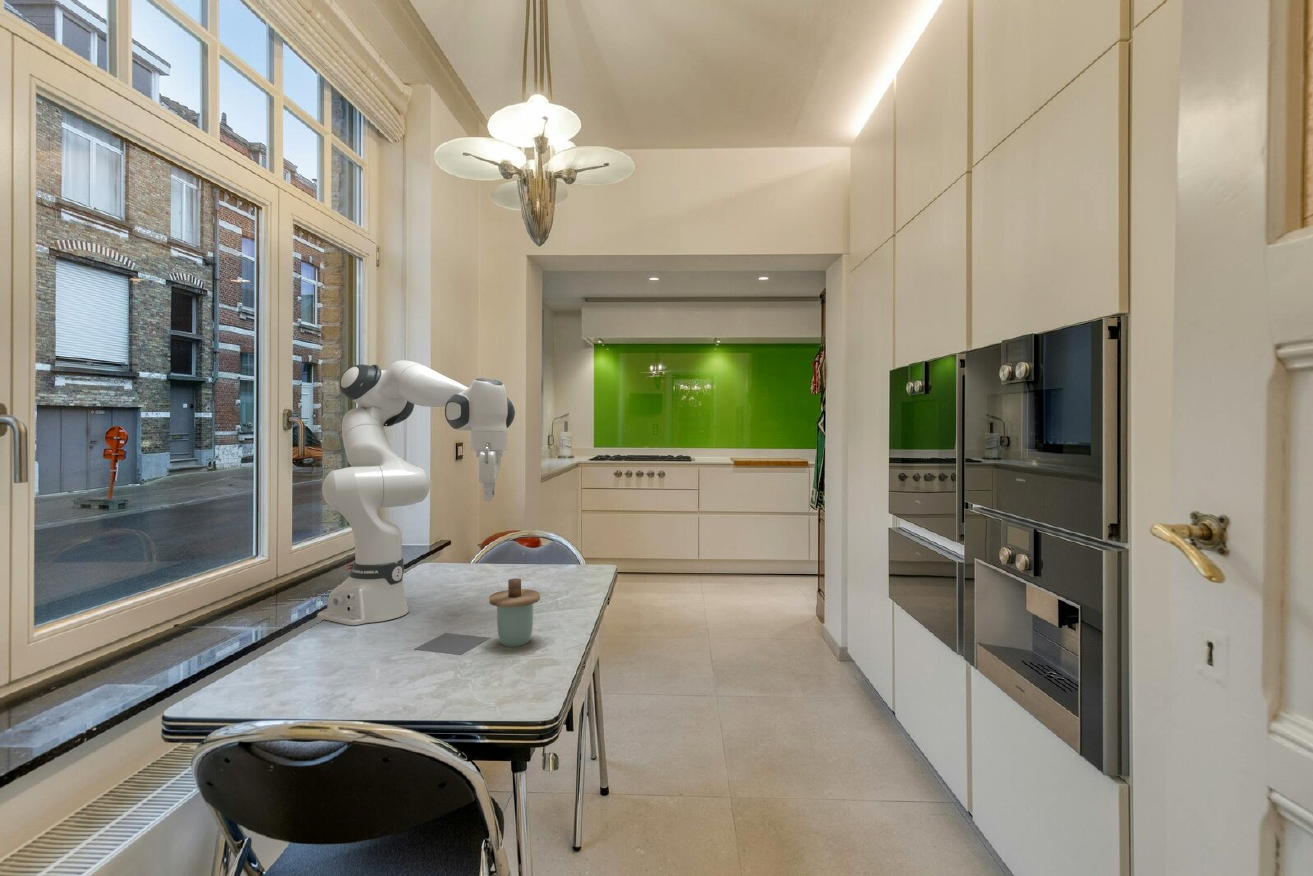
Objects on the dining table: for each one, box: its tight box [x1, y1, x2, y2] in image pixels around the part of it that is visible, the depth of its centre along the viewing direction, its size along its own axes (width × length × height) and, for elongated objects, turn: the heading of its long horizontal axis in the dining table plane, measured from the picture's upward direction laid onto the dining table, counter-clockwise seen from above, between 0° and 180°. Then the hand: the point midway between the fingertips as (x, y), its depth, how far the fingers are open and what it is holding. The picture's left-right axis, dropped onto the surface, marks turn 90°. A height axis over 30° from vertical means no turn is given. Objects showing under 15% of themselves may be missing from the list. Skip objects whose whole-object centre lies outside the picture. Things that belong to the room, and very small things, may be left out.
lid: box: [488, 578, 541, 607], centre depth 131 cm, size 11×11×4 cm
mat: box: [413, 632, 491, 656], centre depth 131 cm, size 12×11×1 cm
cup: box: [496, 603, 534, 648], centre depth 131 cm, size 8×8×10 cm
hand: (489, 499), depth 147 cm, fingers open, 8 cm apart
